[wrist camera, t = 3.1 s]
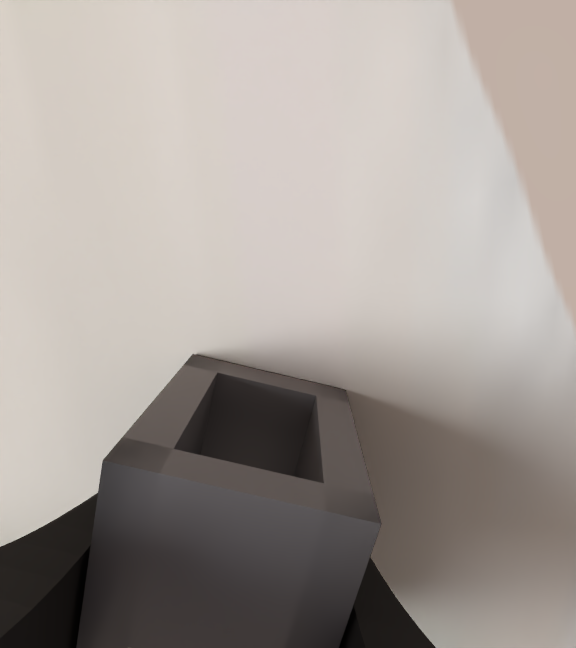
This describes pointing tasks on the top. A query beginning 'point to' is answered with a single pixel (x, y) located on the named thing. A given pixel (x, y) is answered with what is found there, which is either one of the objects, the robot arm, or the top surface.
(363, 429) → the top surface
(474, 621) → the top surface
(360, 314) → the top surface
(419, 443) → the top surface
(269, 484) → the chute
